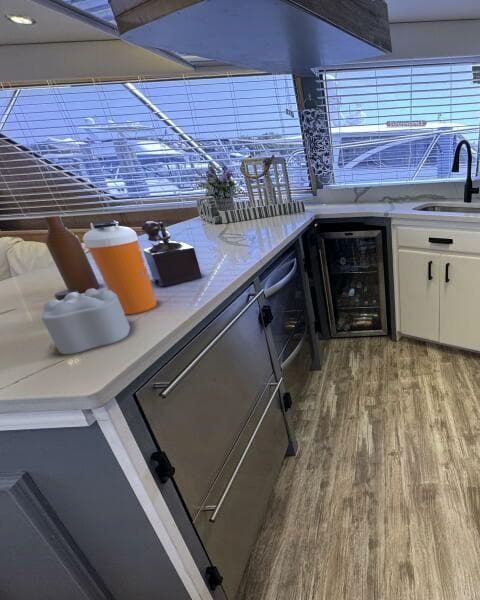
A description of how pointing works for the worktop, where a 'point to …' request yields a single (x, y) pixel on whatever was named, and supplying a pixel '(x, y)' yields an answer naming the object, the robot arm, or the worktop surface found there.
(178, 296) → the worktop surface
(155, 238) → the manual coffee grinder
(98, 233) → the shaker bottle
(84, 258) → the bottle
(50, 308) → the lumpy-topped squat cylinder
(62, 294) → the cap
